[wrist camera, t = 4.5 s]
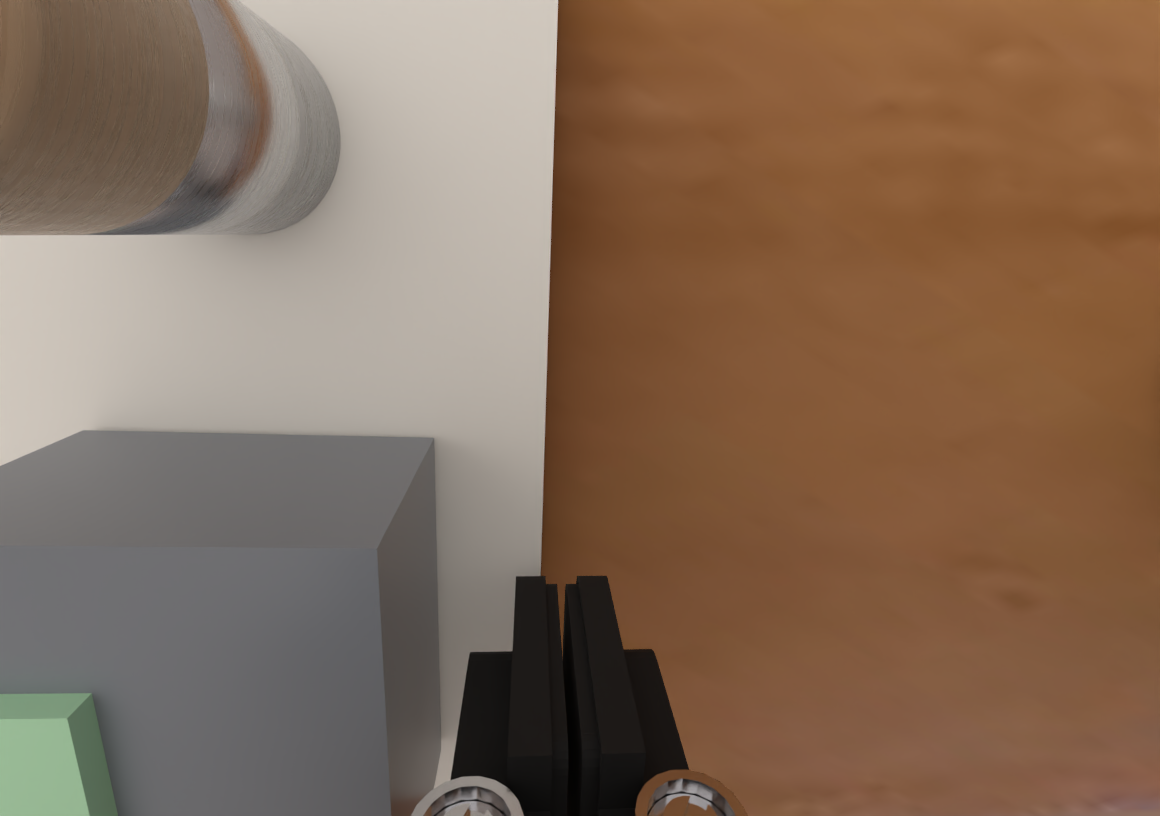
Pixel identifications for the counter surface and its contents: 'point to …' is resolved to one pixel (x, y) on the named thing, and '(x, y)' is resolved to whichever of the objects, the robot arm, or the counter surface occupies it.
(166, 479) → the block
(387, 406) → the white flat rectangular board
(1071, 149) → the counter surface
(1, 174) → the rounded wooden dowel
